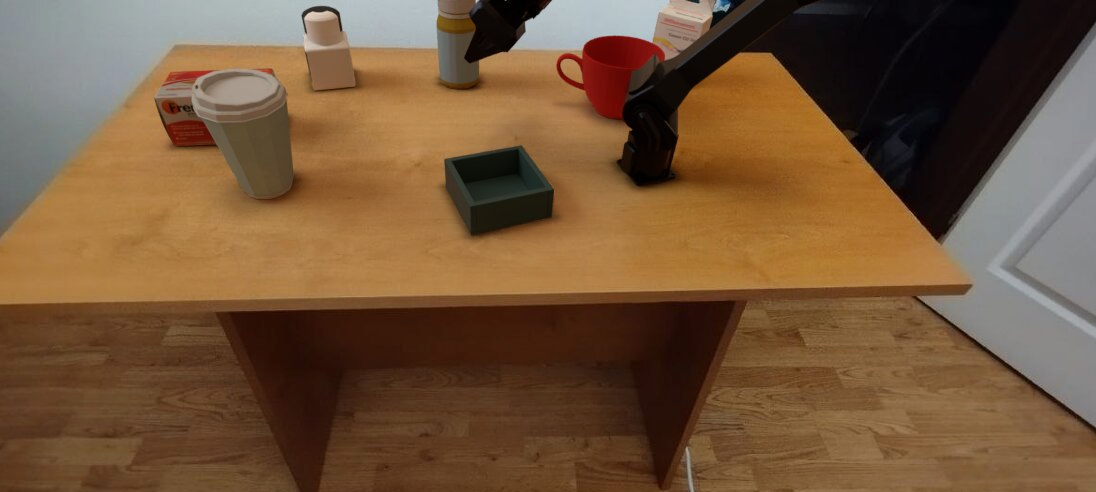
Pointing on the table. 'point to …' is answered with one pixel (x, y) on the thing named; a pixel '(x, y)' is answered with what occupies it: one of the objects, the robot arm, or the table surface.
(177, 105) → the medicine box
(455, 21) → the bottle
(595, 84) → the ceramic cup
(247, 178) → the disposable coffee cup
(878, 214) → the table surface
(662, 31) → the ink cartridge box
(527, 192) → the box
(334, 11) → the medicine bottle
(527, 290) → the table surface
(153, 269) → the table surface
